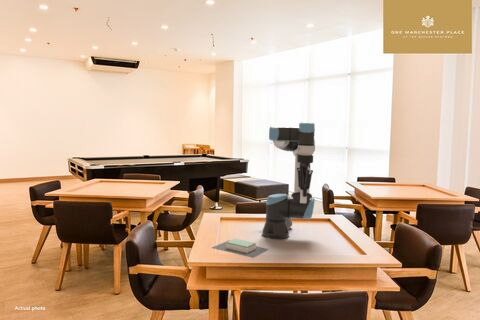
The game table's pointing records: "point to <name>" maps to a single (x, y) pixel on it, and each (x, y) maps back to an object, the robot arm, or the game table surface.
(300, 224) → the game table surface
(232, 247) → the tile
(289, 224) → the coffee pot
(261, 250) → the mat
